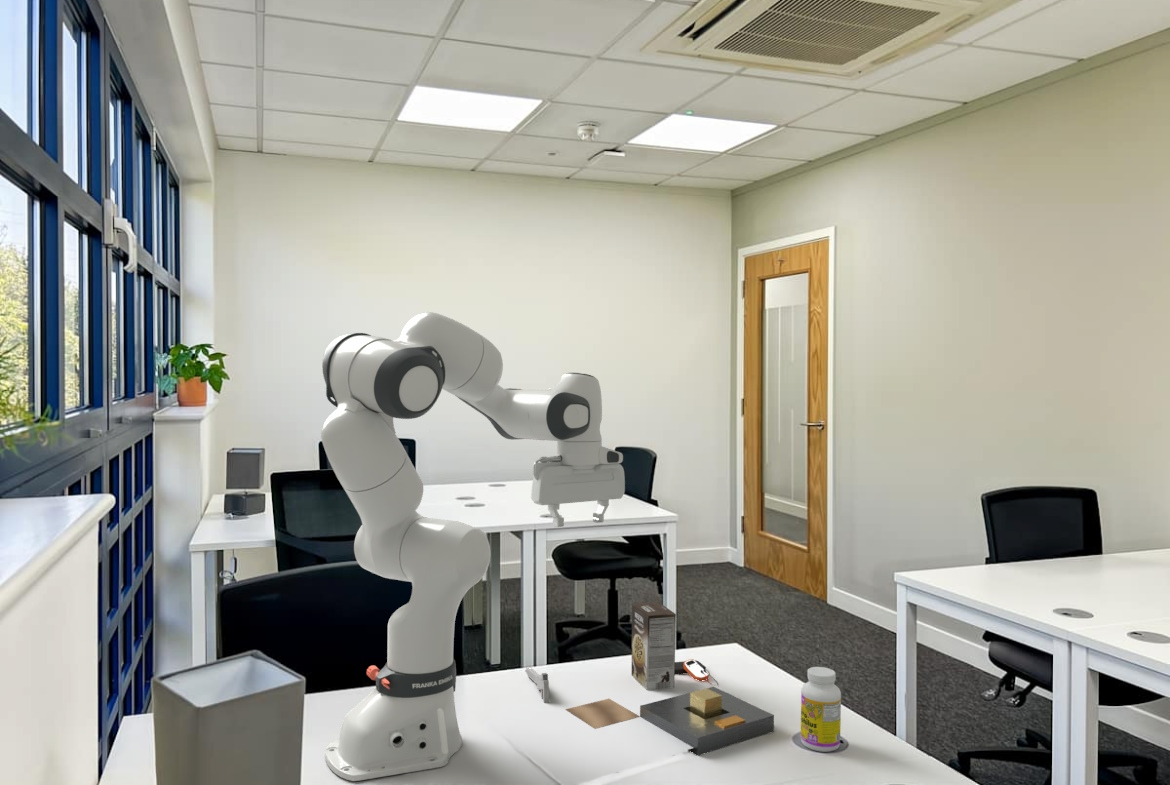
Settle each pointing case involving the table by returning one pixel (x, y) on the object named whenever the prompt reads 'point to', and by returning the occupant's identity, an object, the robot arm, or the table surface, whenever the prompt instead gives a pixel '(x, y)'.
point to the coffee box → (653, 645)
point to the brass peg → (705, 703)
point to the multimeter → (692, 669)
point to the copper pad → (602, 713)
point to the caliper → (540, 683)
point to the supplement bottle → (820, 710)
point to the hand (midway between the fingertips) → (578, 524)
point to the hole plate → (709, 722)
